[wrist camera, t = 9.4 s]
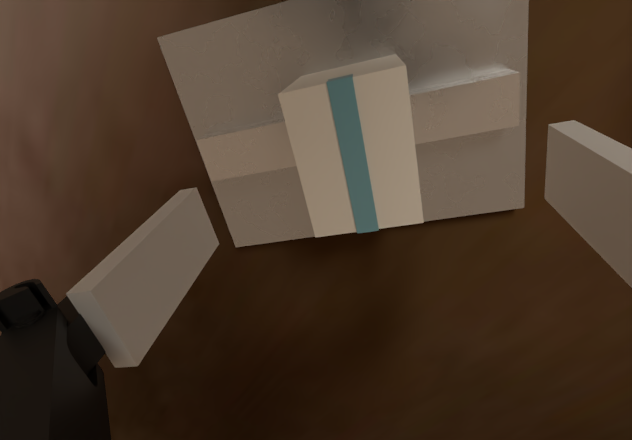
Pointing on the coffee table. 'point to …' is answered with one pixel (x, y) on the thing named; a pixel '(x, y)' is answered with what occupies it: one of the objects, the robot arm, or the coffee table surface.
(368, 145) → the block
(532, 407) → the coffee table surface
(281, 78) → the grey flat board
